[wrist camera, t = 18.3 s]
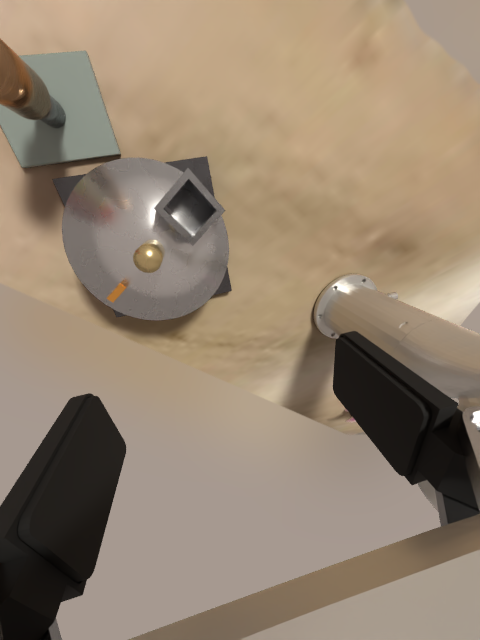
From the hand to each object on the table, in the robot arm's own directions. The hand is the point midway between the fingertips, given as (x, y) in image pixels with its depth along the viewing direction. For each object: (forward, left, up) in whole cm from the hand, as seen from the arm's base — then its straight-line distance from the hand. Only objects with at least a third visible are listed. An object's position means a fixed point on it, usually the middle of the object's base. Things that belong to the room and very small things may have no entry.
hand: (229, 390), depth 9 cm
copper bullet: (+10, -17, -26) cm, 33 cm away
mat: (+10, -17, -27) cm, 33 cm away
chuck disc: (+4, -3, -22) cm, 23 cm away
